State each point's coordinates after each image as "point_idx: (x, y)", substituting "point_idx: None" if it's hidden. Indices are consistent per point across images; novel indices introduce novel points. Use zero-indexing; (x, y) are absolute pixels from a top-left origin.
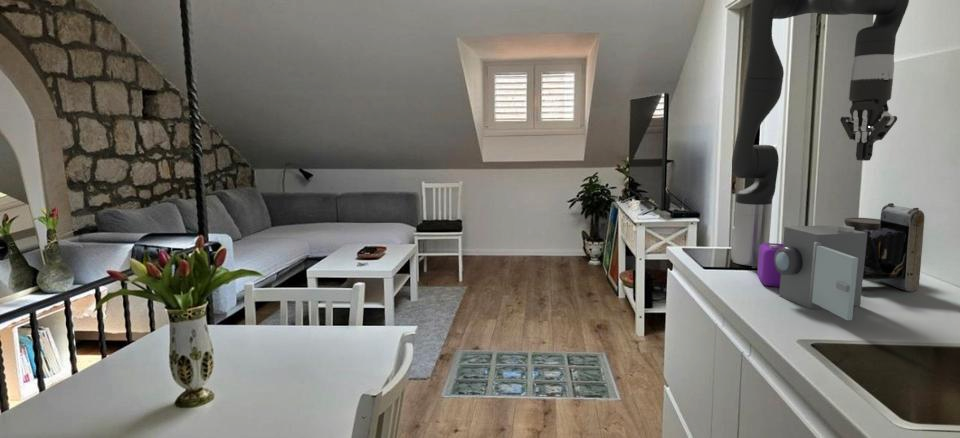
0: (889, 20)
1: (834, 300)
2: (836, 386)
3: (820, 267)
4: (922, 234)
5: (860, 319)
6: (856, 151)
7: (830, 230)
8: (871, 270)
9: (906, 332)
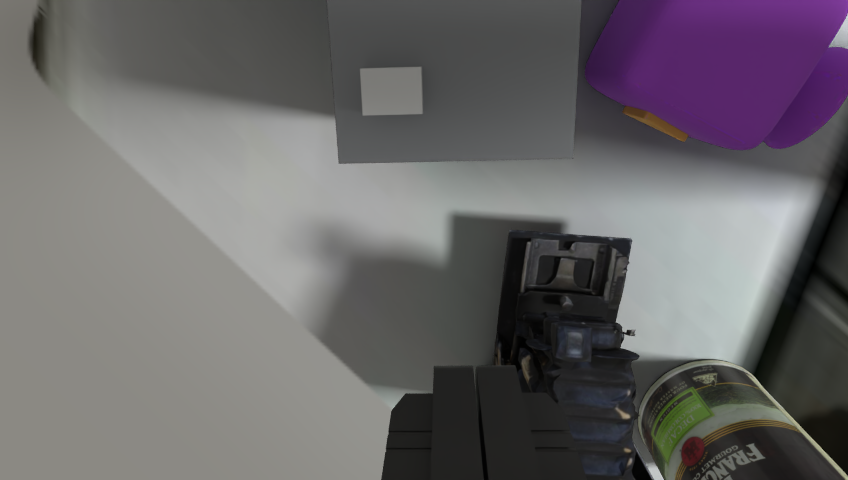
0: None
1: None
2: None
3: None
4: None
5: (257, 17)
6: (569, 440)
7: (428, 25)
8: (539, 314)
9: (144, 57)
